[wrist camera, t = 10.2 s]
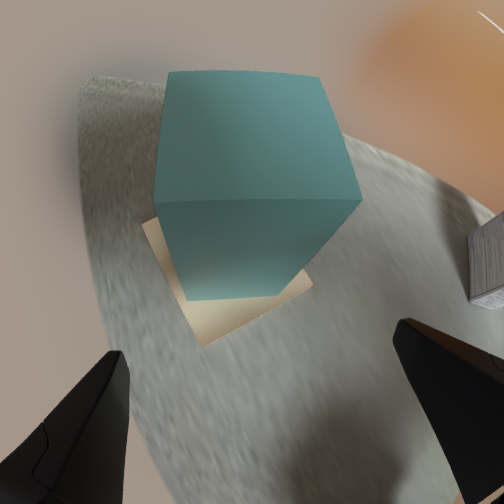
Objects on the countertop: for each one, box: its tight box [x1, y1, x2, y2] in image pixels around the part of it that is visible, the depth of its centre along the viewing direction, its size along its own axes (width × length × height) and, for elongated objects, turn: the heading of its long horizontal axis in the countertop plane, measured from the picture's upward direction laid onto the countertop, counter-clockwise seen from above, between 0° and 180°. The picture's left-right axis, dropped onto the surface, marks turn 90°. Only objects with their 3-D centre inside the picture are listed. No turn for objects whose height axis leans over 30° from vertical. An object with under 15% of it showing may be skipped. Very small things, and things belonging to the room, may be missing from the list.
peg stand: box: [141, 217, 313, 348], centre depth 20 cm, size 10×9×4 cm
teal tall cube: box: [153, 70, 363, 301], centre depth 15 cm, size 6×6×13 cm
